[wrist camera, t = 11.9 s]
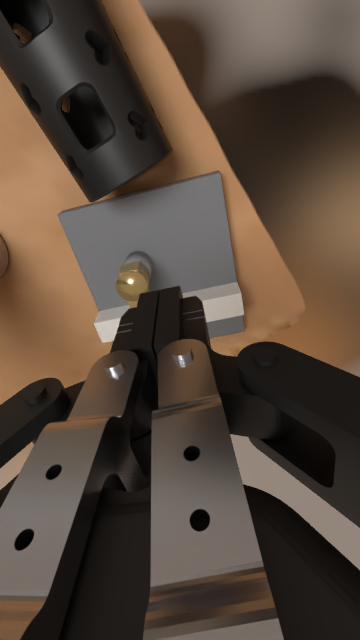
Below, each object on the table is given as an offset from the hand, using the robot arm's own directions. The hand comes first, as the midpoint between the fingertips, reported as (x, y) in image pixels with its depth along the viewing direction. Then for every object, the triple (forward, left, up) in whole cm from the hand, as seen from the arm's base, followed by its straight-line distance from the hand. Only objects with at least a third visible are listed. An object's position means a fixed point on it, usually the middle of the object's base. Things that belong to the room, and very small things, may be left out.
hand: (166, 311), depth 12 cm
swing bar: (-6, -11, -21) cm, 24 cm away
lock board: (-4, -9, -27) cm, 28 cm away
